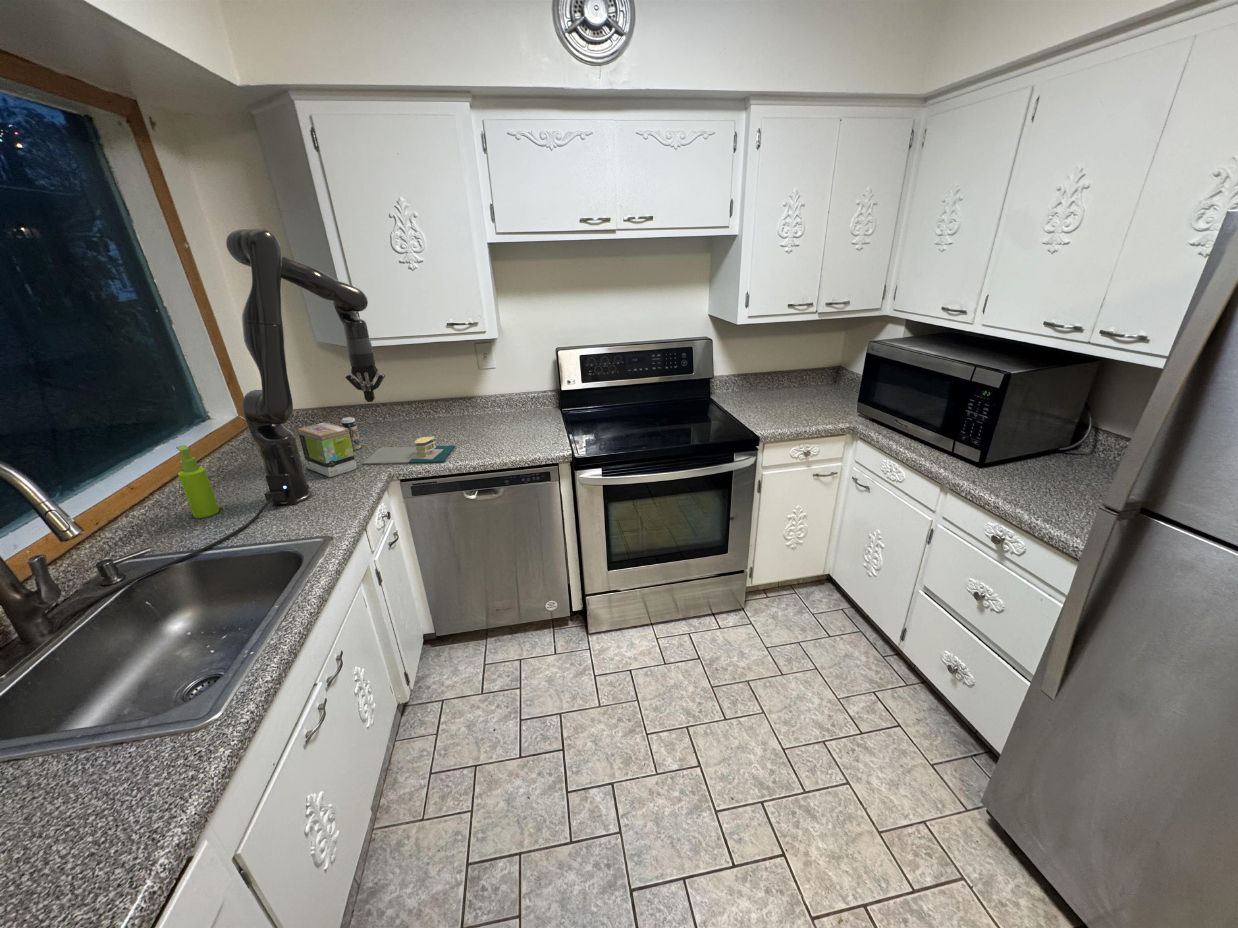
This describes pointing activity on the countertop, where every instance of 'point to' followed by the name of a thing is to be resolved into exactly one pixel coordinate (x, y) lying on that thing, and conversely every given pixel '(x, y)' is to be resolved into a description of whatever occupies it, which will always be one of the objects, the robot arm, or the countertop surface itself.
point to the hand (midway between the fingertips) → (370, 401)
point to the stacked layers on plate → (425, 448)
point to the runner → (404, 456)
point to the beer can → (352, 431)
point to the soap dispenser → (196, 486)
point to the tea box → (327, 449)
